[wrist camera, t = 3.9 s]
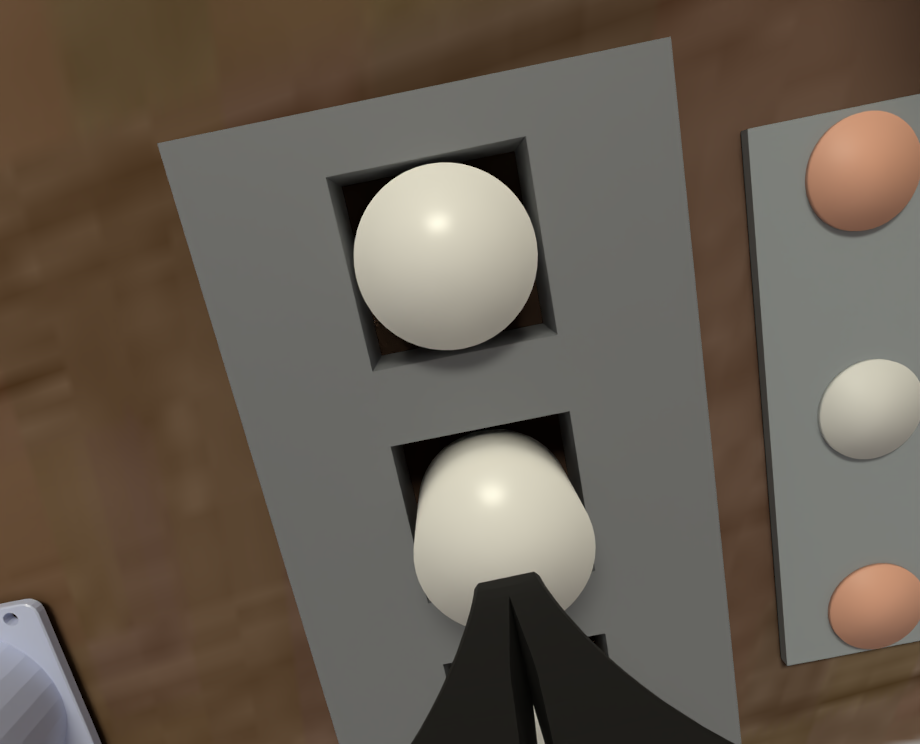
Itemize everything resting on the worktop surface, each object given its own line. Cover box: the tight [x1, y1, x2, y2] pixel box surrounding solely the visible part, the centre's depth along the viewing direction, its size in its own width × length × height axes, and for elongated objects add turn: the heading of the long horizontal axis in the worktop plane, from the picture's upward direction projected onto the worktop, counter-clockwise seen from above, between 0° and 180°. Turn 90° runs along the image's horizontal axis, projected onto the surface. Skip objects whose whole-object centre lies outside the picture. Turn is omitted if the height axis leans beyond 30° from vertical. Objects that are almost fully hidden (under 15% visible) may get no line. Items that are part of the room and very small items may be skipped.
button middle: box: [414, 429, 596, 626], centre depth 17 cm, size 5×5×3 cm
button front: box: [354, 163, 538, 350], centre depth 17 cm, size 5×5×3 cm
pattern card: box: [741, 94, 920, 666], centre depth 20 cm, size 7×20×1 cm, turn 11°
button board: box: [157, 37, 741, 744], centre depth 19 cm, size 14×25×2 cm, turn 11°
